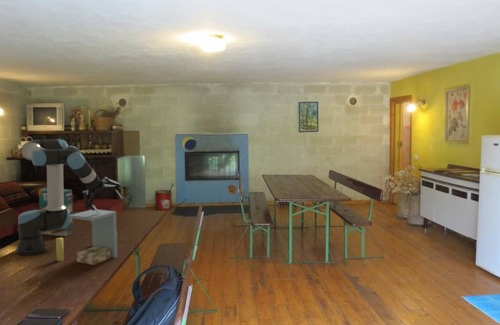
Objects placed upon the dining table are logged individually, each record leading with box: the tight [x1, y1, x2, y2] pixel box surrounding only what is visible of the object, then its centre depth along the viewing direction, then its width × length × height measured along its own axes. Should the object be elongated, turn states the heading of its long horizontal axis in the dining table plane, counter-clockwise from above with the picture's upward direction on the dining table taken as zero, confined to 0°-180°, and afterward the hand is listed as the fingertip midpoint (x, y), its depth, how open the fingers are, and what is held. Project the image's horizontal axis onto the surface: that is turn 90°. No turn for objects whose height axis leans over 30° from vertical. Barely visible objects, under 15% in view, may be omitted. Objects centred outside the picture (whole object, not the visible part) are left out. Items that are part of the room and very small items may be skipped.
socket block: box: [76, 246, 112, 266], centre depth 212 cm, size 12×12×5 cm
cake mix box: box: [38, 188, 75, 237], centre depth 264 cm, size 22×6×30 cm, turn 73°
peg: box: [55, 237, 65, 262], centre depth 211 cm, size 4×4×12 cm
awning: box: [69, 208, 118, 259], centre depth 212 cm, size 16×17×26 cm
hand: (110, 205), depth 211 cm, fingers open, 13 cm apart
